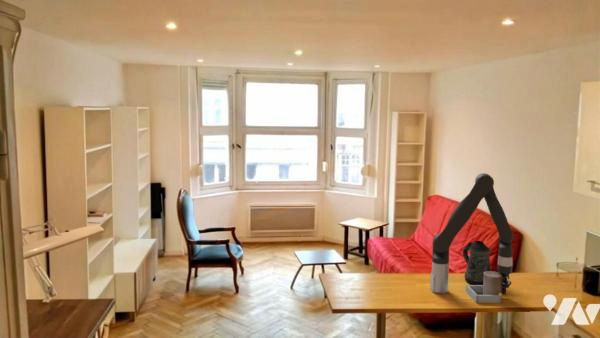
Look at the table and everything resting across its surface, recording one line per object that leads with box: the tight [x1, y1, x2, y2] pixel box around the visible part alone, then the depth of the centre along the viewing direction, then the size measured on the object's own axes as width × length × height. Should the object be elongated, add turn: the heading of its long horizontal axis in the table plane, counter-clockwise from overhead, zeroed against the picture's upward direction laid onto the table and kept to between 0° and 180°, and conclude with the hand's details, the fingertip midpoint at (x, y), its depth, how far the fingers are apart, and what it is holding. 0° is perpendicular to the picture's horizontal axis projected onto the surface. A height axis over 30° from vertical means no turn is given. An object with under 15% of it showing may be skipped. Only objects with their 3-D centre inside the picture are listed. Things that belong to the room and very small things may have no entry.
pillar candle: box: [482, 270, 502, 295], centre depth 247 cm, size 10×10×15 cm
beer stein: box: [462, 240, 492, 285], centre depth 271 cm, size 16×19×25 cm
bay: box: [465, 284, 503, 304], centre depth 248 cm, size 14×15×5 cm
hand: (503, 293), depth 247 cm, fingers closed
